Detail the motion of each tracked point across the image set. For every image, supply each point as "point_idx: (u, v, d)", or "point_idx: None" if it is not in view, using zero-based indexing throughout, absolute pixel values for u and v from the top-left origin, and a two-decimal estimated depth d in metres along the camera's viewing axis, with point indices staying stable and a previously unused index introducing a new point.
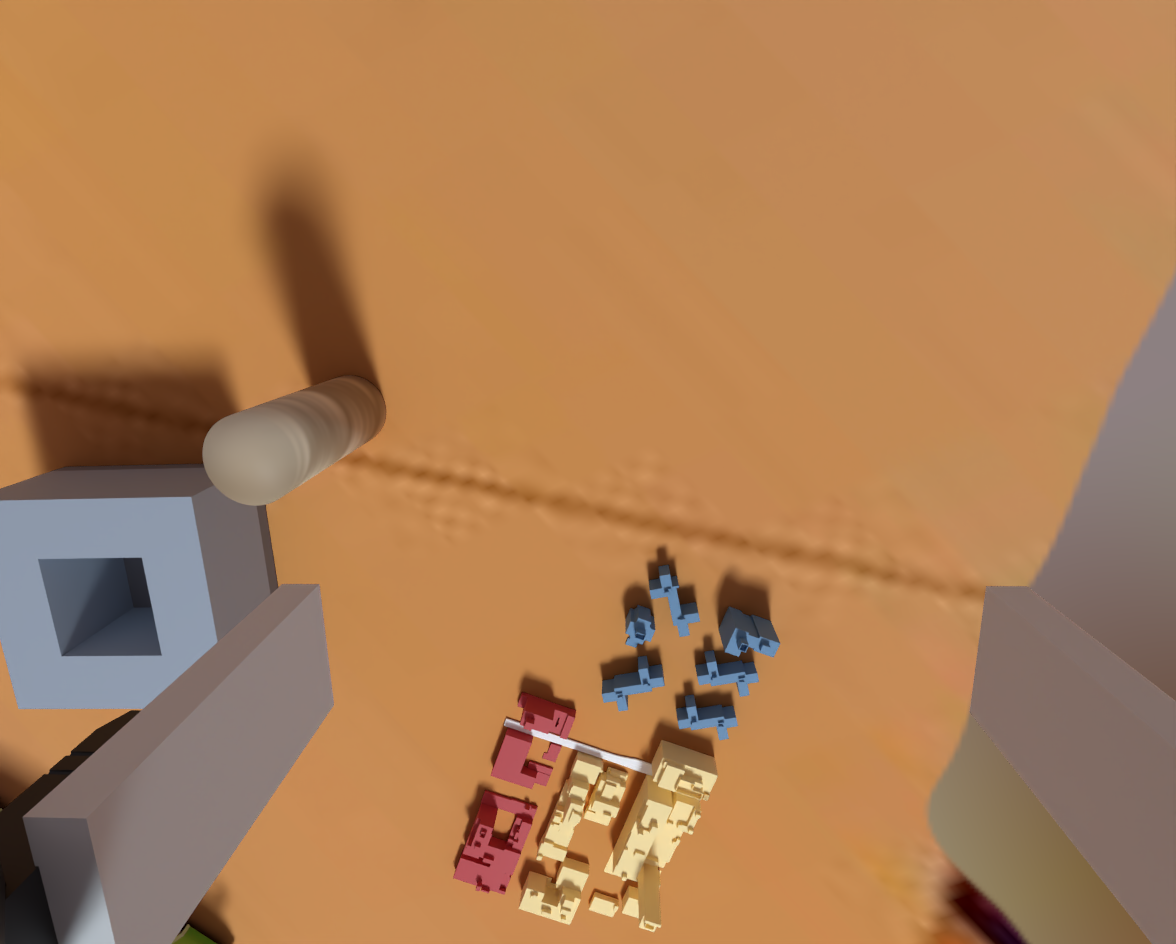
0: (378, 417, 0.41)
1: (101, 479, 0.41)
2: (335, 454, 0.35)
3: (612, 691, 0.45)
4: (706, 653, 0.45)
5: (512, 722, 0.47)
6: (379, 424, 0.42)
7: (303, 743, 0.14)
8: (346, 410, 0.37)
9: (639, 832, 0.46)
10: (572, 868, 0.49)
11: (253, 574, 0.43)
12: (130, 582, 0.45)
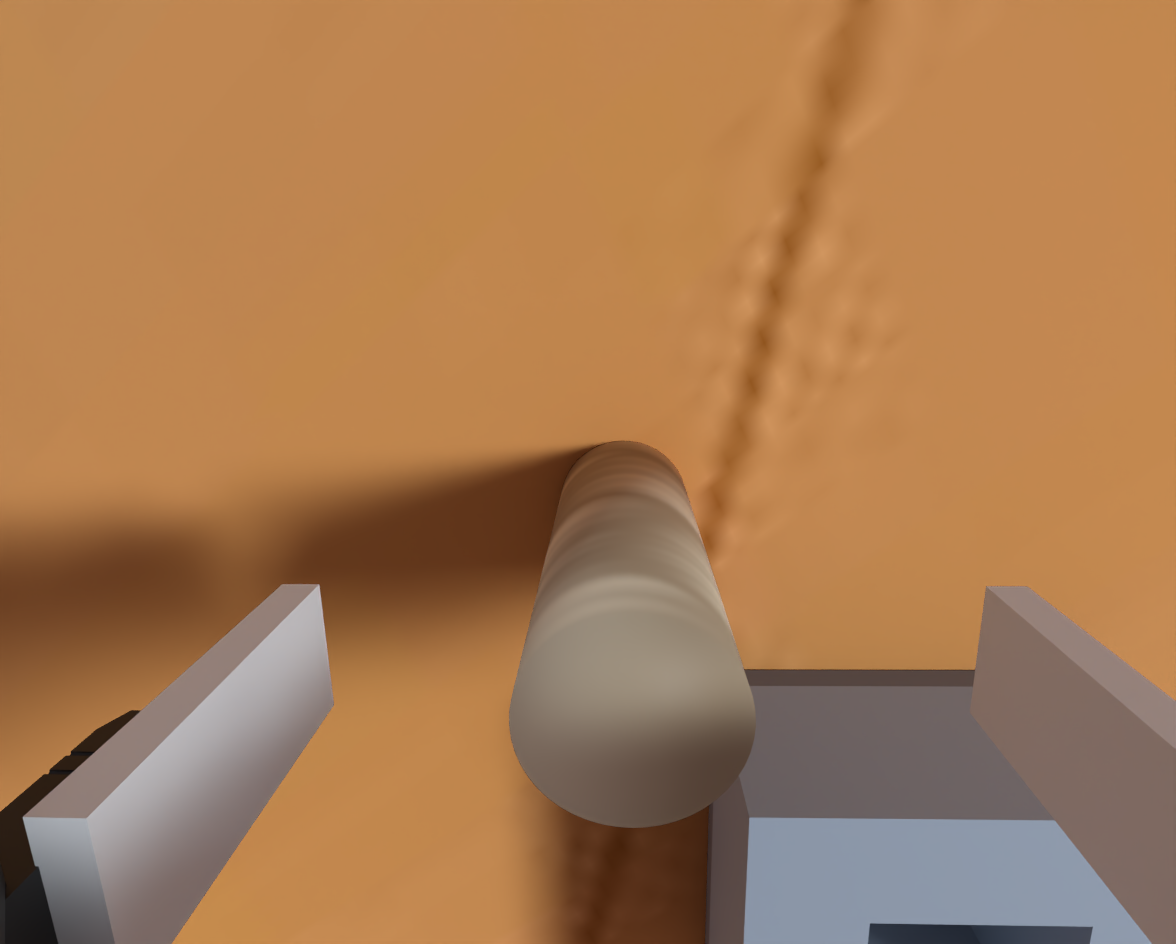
0: (631, 451, 0.22)
1: (719, 925, 0.24)
2: (669, 525, 0.16)
3: None
4: None
5: None
6: (647, 452, 0.22)
7: (303, 743, 0.14)
8: (589, 498, 0.18)
9: None
10: None
11: (925, 713, 0.22)
12: None
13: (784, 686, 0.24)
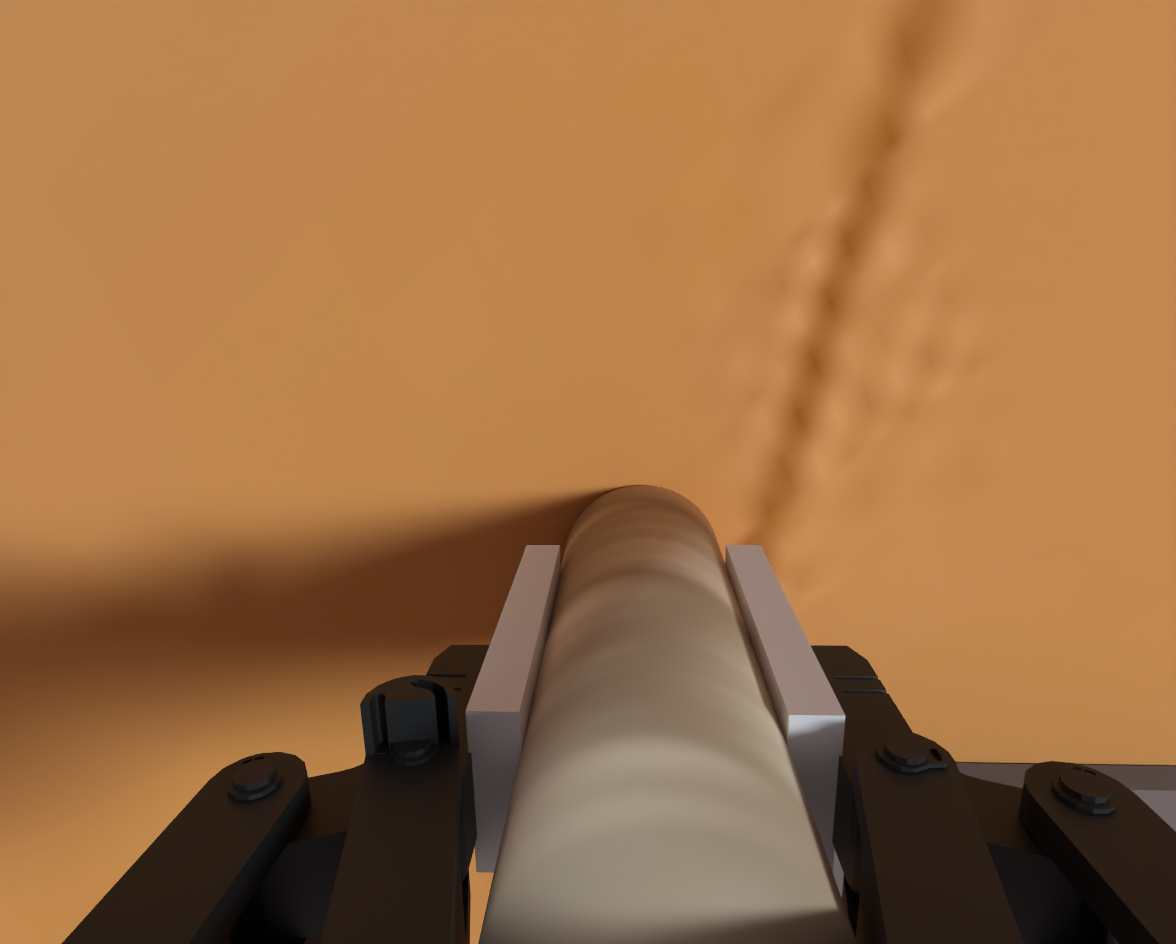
0: (653, 501, 0.17)
1: None
2: (710, 627, 0.12)
3: None
4: None
5: None
6: (672, 501, 0.18)
7: None
8: (600, 575, 0.14)
9: None
10: None
11: None
12: None
13: None
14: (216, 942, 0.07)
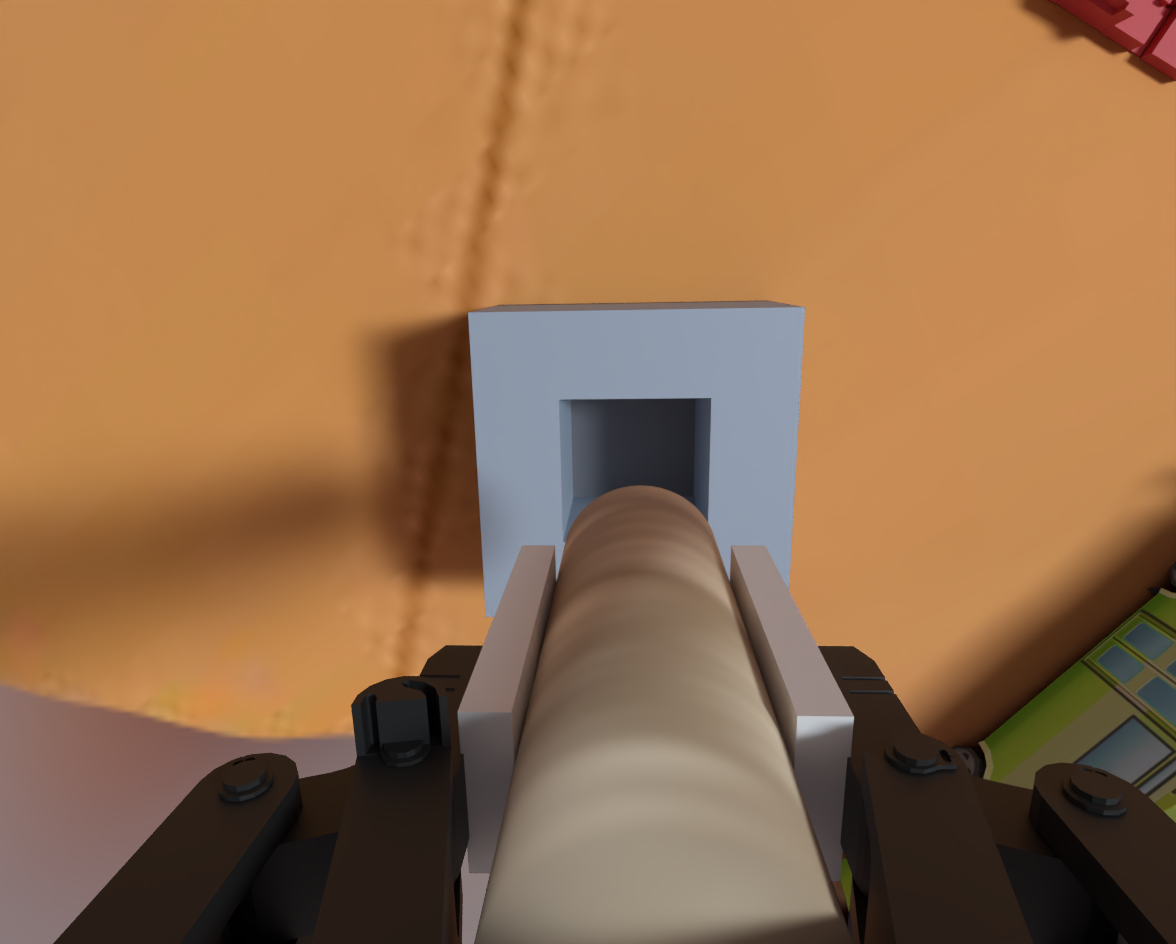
0: (651, 501, 0.17)
1: None
2: (708, 628, 0.11)
3: None
4: None
5: None
6: (670, 501, 0.18)
7: None
8: (598, 575, 0.13)
9: None
10: None
11: None
12: None
13: None
14: (207, 943, 0.07)
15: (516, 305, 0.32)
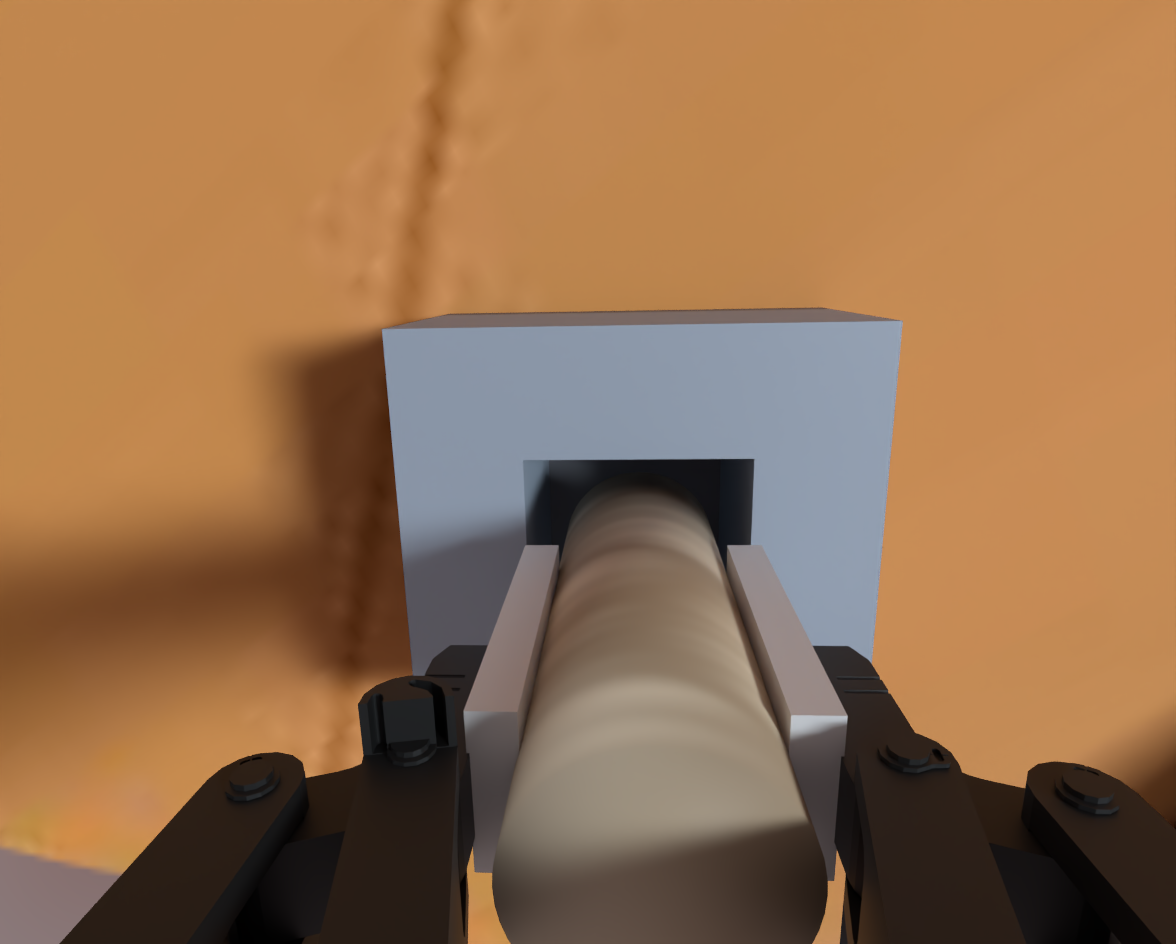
0: (649, 486, 0.19)
1: None
2: (699, 592, 0.13)
3: None
4: None
5: None
6: (667, 486, 0.19)
7: None
8: (600, 550, 0.15)
9: None
10: None
11: (637, 314, 0.21)
12: None
13: (511, 314, 0.23)
14: (214, 942, 0.07)
15: (471, 314, 0.23)
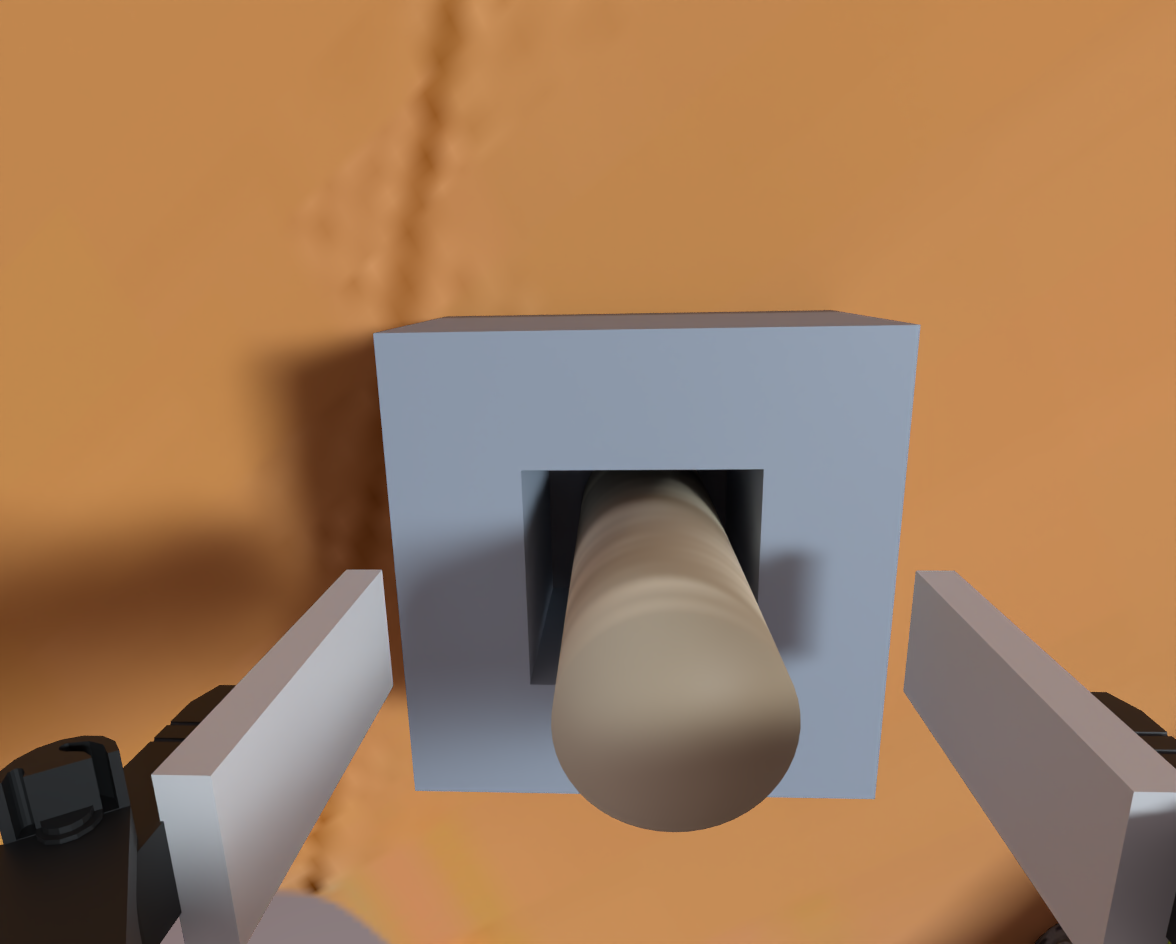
0: None
1: None
2: (701, 528, 0.16)
3: None
4: None
5: None
6: None
7: (370, 720, 0.14)
8: (618, 500, 0.18)
9: None
10: None
11: (641, 317, 0.20)
12: None
13: (510, 317, 0.22)
14: None
15: (468, 317, 0.22)
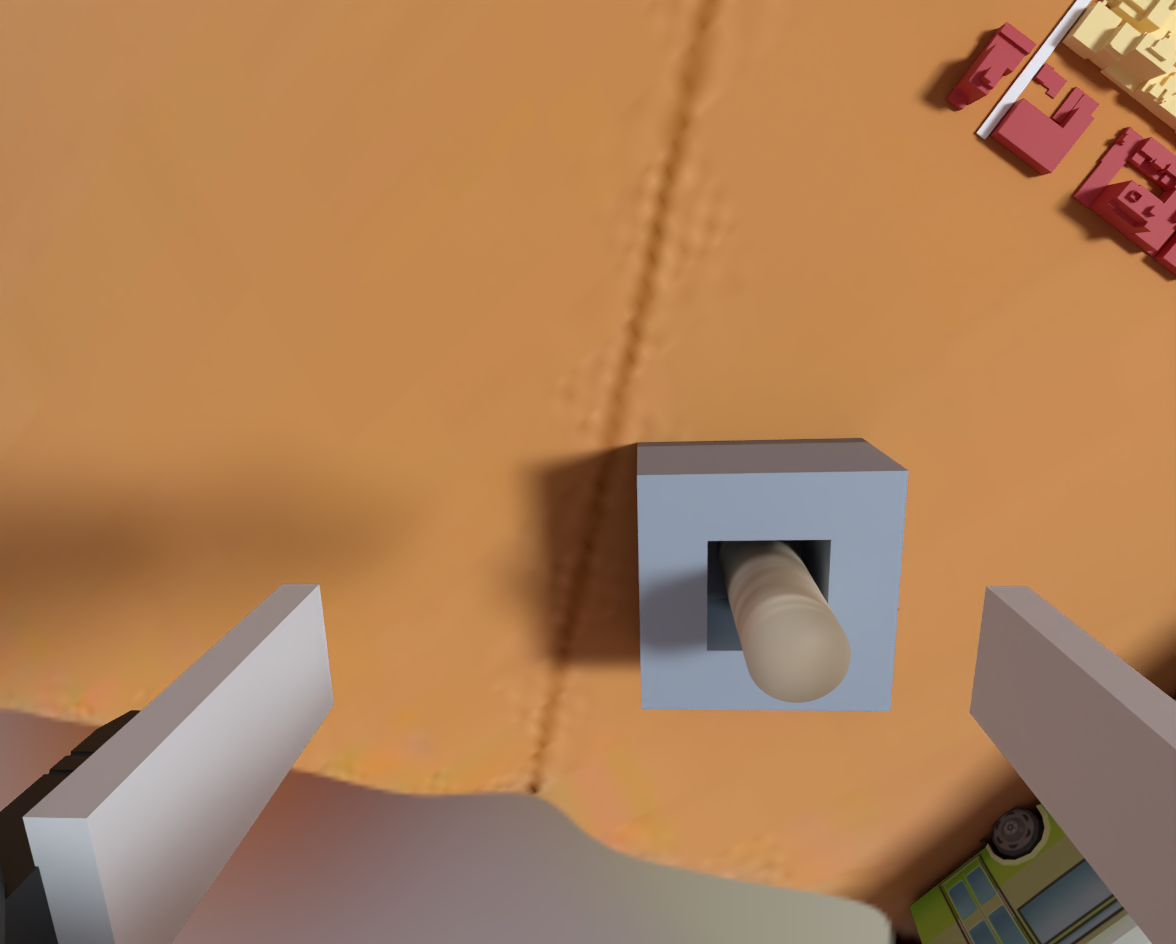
0: None
1: None
2: (799, 569, 0.33)
3: None
4: None
5: (985, 124, 0.35)
6: None
7: (303, 743, 0.14)
8: (752, 553, 0.35)
9: None
10: None
11: (757, 450, 0.37)
12: None
13: (678, 445, 0.39)
14: None
15: (654, 445, 0.39)
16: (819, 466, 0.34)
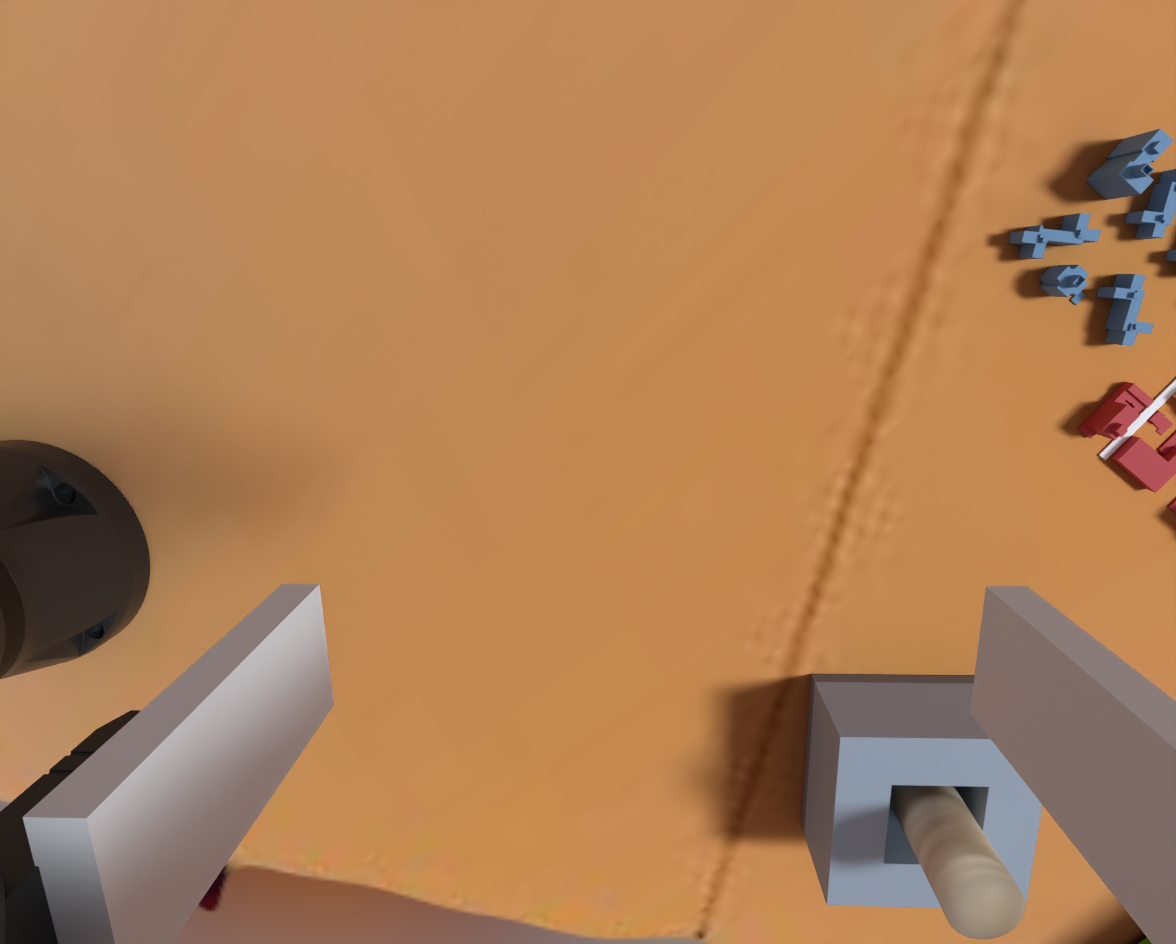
0: None
1: (816, 800, 0.48)
2: (968, 816, 0.42)
3: (1124, 333, 0.41)
4: (1128, 220, 0.41)
5: (1106, 449, 0.44)
6: None
7: (303, 743, 0.14)
8: (922, 791, 0.44)
9: None
10: None
11: (917, 695, 0.47)
12: None
13: (848, 682, 0.48)
14: None
15: (828, 681, 0.48)
16: (979, 728, 0.43)
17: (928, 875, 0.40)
